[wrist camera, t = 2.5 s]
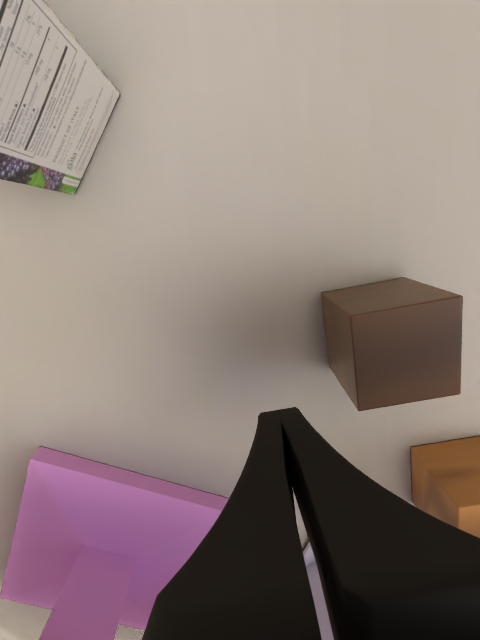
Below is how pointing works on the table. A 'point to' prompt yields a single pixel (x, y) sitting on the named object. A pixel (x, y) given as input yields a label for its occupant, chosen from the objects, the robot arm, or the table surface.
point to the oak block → (449, 482)
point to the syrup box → (47, 99)
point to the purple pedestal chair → (100, 543)
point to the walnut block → (394, 342)
